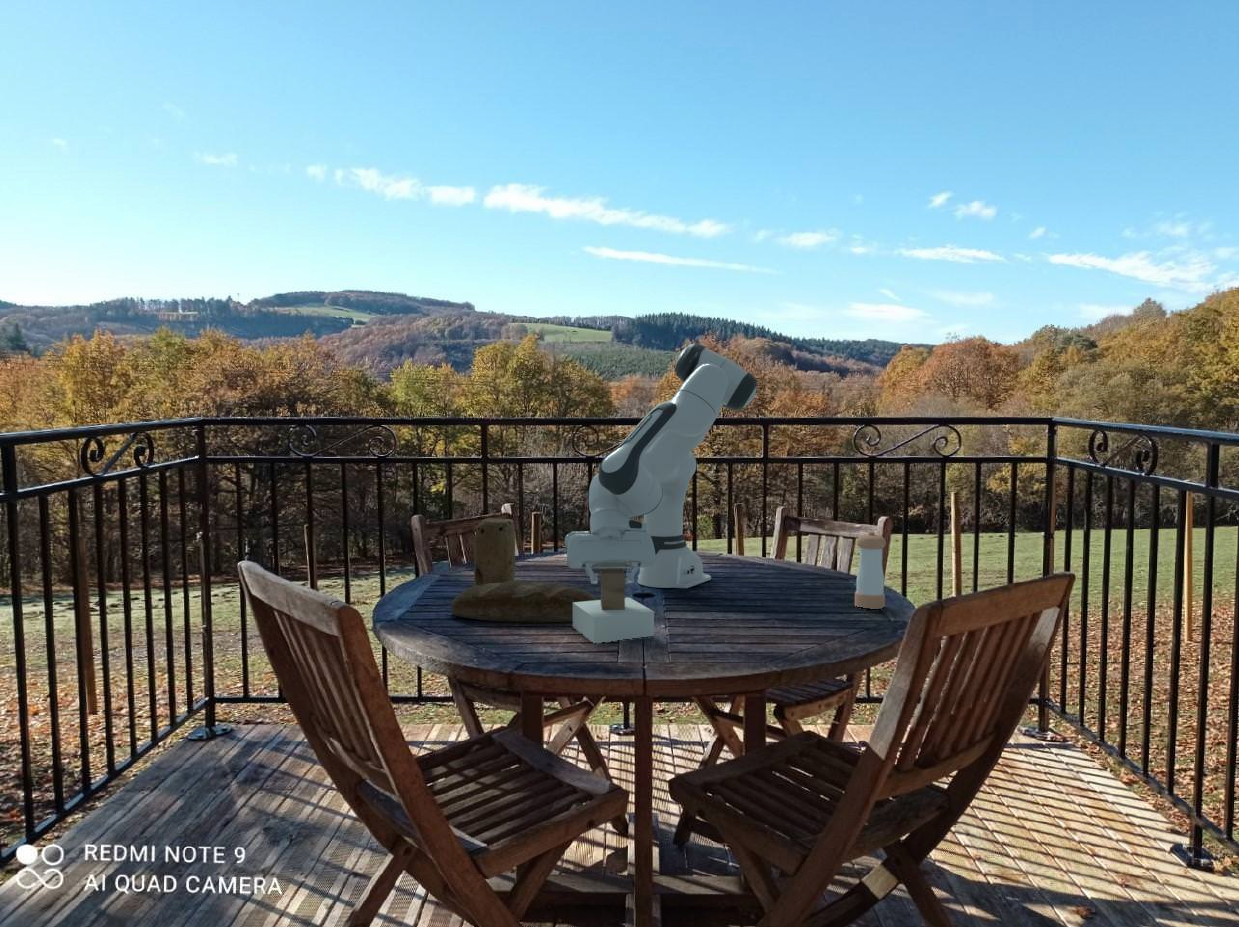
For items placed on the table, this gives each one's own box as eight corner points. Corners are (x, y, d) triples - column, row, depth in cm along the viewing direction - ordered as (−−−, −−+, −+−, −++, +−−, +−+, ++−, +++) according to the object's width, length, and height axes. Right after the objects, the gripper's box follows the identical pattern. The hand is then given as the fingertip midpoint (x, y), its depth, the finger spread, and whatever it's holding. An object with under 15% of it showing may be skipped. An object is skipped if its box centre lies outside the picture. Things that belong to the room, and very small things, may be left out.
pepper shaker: (886, 611, 195) (888, 534, 194) (855, 609, 196) (857, 533, 195) (882, 603, 202) (884, 529, 201) (853, 602, 203) (855, 528, 202)
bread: (461, 606, 199) (461, 573, 198) (604, 610, 196) (604, 576, 196) (443, 623, 183) (442, 587, 183) (598, 627, 181) (598, 591, 180)
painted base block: (628, 622, 185) (629, 597, 185) (653, 638, 172) (654, 611, 172) (572, 628, 180) (572, 602, 180) (593, 645, 167) (594, 617, 167)
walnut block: (600, 603, 178) (600, 568, 177) (622, 603, 178) (622, 568, 177) (602, 610, 173) (602, 574, 172) (624, 609, 173) (624, 574, 172)
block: (517, 590, 216) (516, 517, 215) (510, 596, 209) (510, 521, 207) (478, 588, 217) (478, 517, 216) (470, 595, 210) (469, 520, 208)
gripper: (564, 523, 180) (566, 575, 171) (653, 522, 182) (659, 573, 173) (564, 539, 185) (565, 590, 176) (650, 538, 187) (656, 588, 178)
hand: (612, 582), depth 175 cm, fingers open, 7 cm apart
